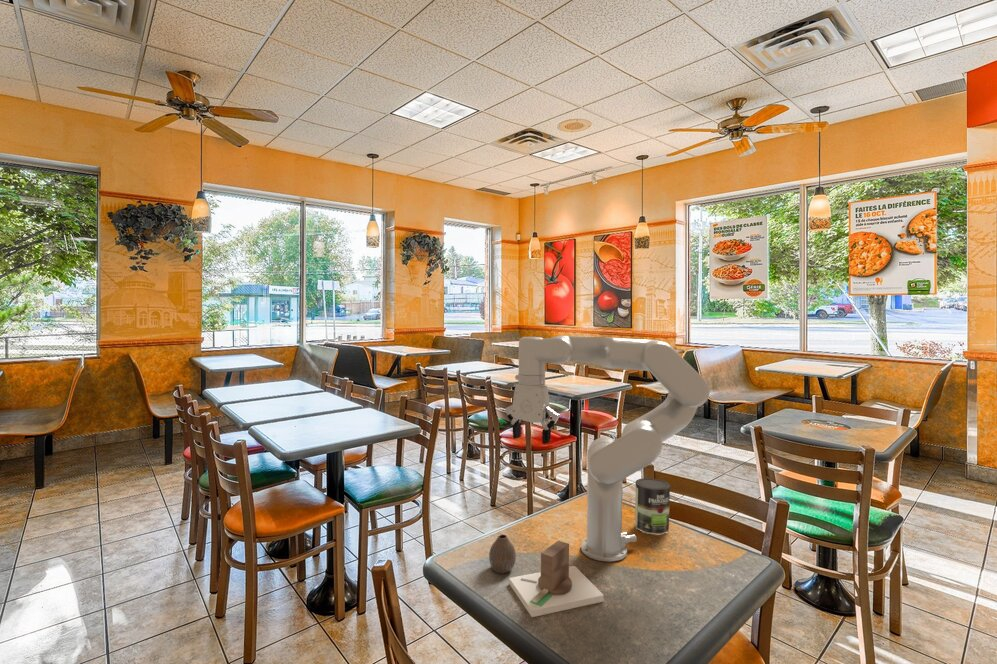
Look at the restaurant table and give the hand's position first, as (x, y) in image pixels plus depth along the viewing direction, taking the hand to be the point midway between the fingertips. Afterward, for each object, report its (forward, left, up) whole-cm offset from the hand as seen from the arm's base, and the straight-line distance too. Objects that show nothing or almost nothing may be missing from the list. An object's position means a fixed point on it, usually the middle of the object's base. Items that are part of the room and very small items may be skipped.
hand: (531, 440), depth 140 cm
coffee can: (-40, +2, -31) cm, 50 cm away
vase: (+12, +10, -31) cm, 34 cm away
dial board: (+4, +24, -30) cm, 39 cm away
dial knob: (+6, +25, -28) cm, 39 cm away
